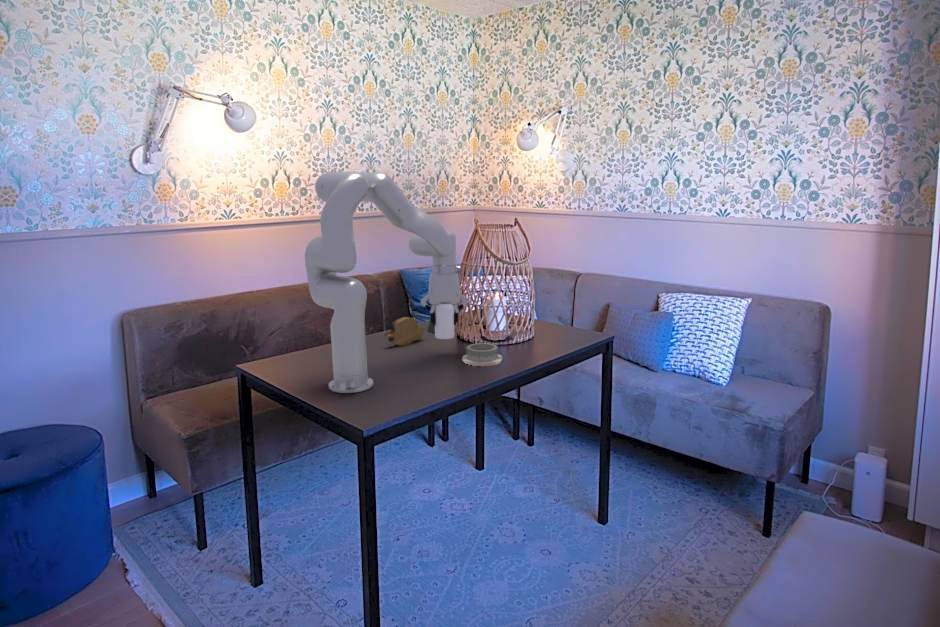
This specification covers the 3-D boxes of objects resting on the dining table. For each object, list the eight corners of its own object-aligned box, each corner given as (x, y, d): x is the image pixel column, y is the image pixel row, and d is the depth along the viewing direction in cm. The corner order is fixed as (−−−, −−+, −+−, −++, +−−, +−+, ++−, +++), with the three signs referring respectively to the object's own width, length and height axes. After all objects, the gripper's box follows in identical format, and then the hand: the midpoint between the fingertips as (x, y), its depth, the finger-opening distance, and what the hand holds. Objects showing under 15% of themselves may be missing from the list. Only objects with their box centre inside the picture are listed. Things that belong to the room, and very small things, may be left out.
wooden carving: (416, 338, 234) (415, 312, 232) (425, 340, 231) (424, 313, 229) (383, 348, 222) (381, 320, 220) (391, 350, 219) (390, 322, 217)
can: (455, 335, 213) (455, 300, 211) (453, 340, 207) (453, 303, 204) (436, 335, 214) (436, 300, 211) (433, 339, 207) (433, 303, 205)
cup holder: (505, 365, 200) (505, 351, 199) (463, 367, 198) (463, 353, 198) (499, 354, 212) (499, 341, 211) (460, 355, 211) (460, 342, 210)
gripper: (469, 268, 210) (469, 321, 214) (417, 268, 209) (417, 322, 212) (471, 271, 203) (471, 326, 206) (417, 271, 201) (418, 327, 205)
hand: (444, 323), depth 209 cm, fingers closed on can, 6 cm apart
